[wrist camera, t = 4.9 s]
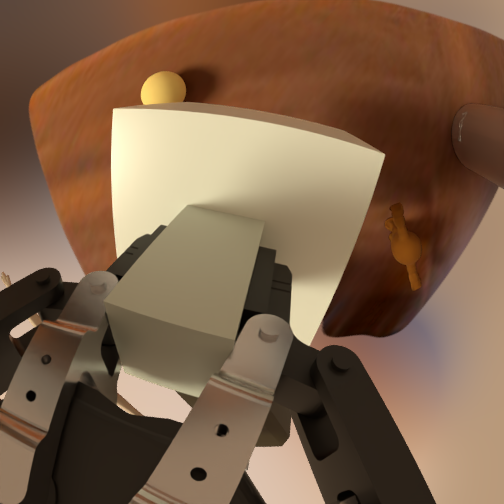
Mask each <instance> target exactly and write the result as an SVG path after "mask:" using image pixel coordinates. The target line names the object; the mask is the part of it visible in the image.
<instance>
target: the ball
mask: <svg viewBox="0 0 504 504" xmlns="http://www.w3.org/2000/svg"><path fill="white" fill-rule="evenodd" d="M185 95H186V86H185V83H184V81H183V79H182V78H181V77H180V76H179V75H177V74H176V73H173V72H169V71H162V72H158V73H156V74H154V75H152V76H150V77H149V78H148V79H147V80H146V82H145V83H144V85H143V87H142V90H141V99H142V102H143V104H144V105H148V104H160V103H175V102H183V101H184V98H185Z"/></svg>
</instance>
